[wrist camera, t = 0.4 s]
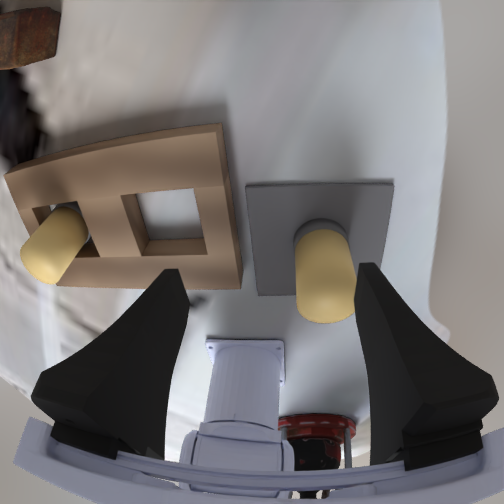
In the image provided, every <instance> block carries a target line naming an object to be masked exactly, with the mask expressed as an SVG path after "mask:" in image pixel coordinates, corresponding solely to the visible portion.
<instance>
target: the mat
mask: <svg viewBox="0 0 504 504" xmlns="http://www.w3.org/2000/svg"><path fill="white" fill-rule="evenodd" d="M245 190H246V199H247V207H248V216H249V224H250V232H251V241H252V249H253V258H254V266H255V275H256V283H257V291H258V296H282V295H296V268H295V258H294V253H293V238H294V235H295V233H296V231H297V230H298V228H299V227H300V226H301V225H303V224H304V223H306V222H308V221H310V220H313V219H318V218H326V219H331V220H334V221H336V222H338V223H339V224H340V225H341V226H342V227H343V228H344V229H345V231H346V233H347V237H348V241H349V244H350V254H351V258H352V262H353V266H354V270H355V274H356V279H357V275H358V268H359V263H367V262H374V263H375V264H376V265H377V266H378V268H379V269H380V267H381V262H382V257H383V252H384V247H385V242H386V236H387V231H388V225H389V219H390V213H391V206H392V199H393V192H394V185H393V184H366V183H339V184H288V185H262V186H246V187H245Z"/></svg>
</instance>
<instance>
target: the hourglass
mask: <svg viewBox="0 0 504 504" xmlns="http://www.w3.org/2000/svg"><path fill="white" fill-rule="evenodd" d="M278 431H281V440H287V441H288V442H289V444H290V445H291V446H292V447H293V451H294V471H316V470H333V469H338V468H339V466H340V461H341V447H340V444H343V443H344V457H345V468H352V455H351V439H352V438H353V437H354V436H355V435H356V425H355V423H354V422H353V421H352V420H351V419H349V418H346V417H343V416H338V415H331V414H305V415H294V416H289V417H283V418H279V419H278ZM343 489H344V488H343ZM335 490H339V489H335ZM318 491H319V490H314V491H297V492H298V493H300V499H317V498H316V493H317V492H318ZM329 493H330V490H323V492H322V497H321V499H326V498H327V497H329ZM292 494H293V492H292V491H290V492H289V495H288V499H291V498H292Z"/></svg>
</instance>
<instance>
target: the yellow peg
mask: <svg viewBox="0 0 504 504" xmlns="http://www.w3.org/2000/svg"><path fill="white" fill-rule="evenodd" d="M293 253H294V258H295V268H296V300H297V309H298V311H299V313H300V314H301V315H302V316H303V317H304V318H306V319H307V320H310V321H312V322H316V323H334V322H338V321H341V320H343V319H346V318H347V317H349V316H350V315H352V314H353V313H354V312H355V307H354V294H355V288H356V281H357V279H356V274H355V270H354V266H353V262H352V258H351V254H350V244H349V241H348V237H347V233H346V231H345V229H344V228H343V227H342V226H341V225H340V224H339V223H338V222H336V221H334V220H331V219H326V218H318V219H313V220H310V221H308V222H306V223H304V224H303V225H301V226H300V227H299V228H298V230H297V231H296V233H295V235H294V238H293Z"/></svg>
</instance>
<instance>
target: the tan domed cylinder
mask: <svg viewBox="0 0 504 504" xmlns="http://www.w3.org/2000/svg"><path fill="white" fill-rule="evenodd" d="M90 237H91V234H90V232H89V229H88V227H87V225H86V222H85V220H84V217H83V215H82V212H81V210H80V207H79V204H78V202H77V201H73V202H66V203H59V204H58V205H57V206H56V207H55V208H54V210H53V211H52V213H51V214H50V215H49V217H48V218H47V219H46V220H45V221H44V222H43V223H42V224H41V225H40V226H39V227H38V229H37V230H36V231H35V232H34V233H33V234H32V235H31V237H30V238H29V239H28V240H27V241H26V242H25V244H24V245H23V246H22V247H21V250H20V256H21V260H22V262H23V264H24V266H25V268H26V269H27V270H28V271H29V273H30V274H31V275H32V276H34V277H35V278H36V279H38V280H39V281H41V282H43V283H46V284H55V283H57V282H58V281H59V280H60V278H61V277H62V275H63V274H64V272H65V271H66V269H67V268H68V266H69V265H70V263H71V262H72V260H73V259H74V257H75V256H76V255H77V253H78V252H79V250H80V249H81V248H82V246H83V245H84V244H85V243H86V242H87V241H88V240H89V239H90Z"/></svg>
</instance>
